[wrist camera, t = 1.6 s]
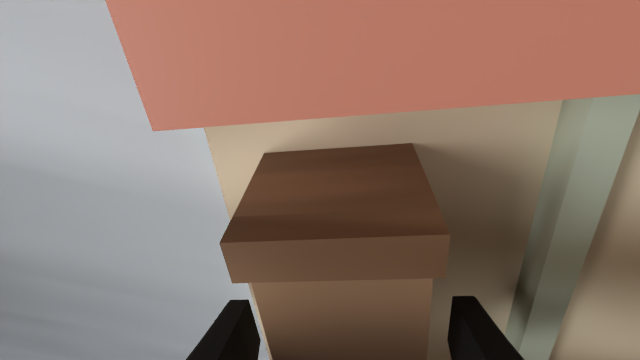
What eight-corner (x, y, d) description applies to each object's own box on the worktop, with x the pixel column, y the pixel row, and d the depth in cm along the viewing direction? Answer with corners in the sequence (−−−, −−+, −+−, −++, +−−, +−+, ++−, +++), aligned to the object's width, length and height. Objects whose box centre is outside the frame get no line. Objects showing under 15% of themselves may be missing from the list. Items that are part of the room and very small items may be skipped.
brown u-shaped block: (404, 384, 14) (421, 502, 11) (310, 383, 15) (300, 497, 11) (412, 143, 9) (450, 234, 6) (263, 152, 9) (219, 243, 6)
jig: (644, 397, 16) (685, 454, 14) (290, 392, 17) (283, 443, 16) (1062, -248, 6) (1404, -360, 4) (161, -107, 8) (101, -137, 6)
